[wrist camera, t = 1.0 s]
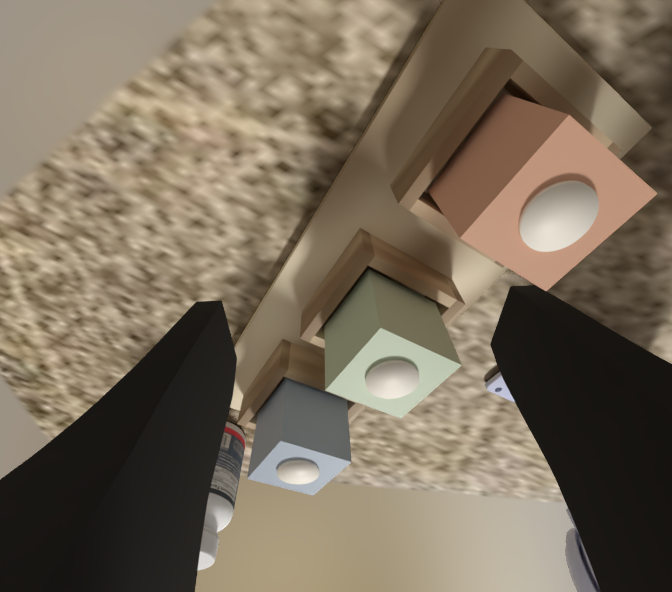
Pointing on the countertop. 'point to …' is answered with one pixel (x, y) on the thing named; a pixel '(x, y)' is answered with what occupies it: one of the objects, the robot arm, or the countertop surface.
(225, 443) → the pill bottle
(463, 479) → the countertop surface
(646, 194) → the terracotta block
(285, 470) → the slate-blue block
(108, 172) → the countertop surface
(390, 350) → the sage block
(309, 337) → the birch board
